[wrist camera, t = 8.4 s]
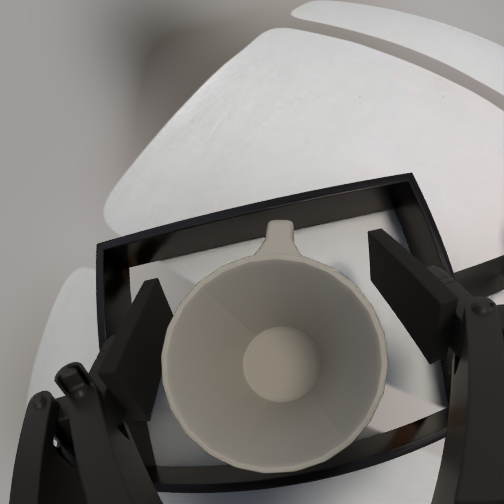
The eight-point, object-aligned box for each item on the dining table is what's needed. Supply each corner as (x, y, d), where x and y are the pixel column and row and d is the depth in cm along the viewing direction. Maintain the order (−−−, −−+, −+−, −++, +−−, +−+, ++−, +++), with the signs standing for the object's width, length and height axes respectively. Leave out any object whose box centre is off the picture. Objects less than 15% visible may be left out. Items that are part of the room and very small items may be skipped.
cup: (214, 420, 16) (154, 457, 8) (226, 263, 20) (181, 193, 12) (343, 425, 15) (380, 472, 7) (345, 264, 19) (377, 192, 11)
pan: (150, 473, 15) (125, 489, 12) (122, 261, 21) (96, 243, 18) (525, 371, 14) (554, 367, 10) (467, 186, 19) (486, 161, 16)
